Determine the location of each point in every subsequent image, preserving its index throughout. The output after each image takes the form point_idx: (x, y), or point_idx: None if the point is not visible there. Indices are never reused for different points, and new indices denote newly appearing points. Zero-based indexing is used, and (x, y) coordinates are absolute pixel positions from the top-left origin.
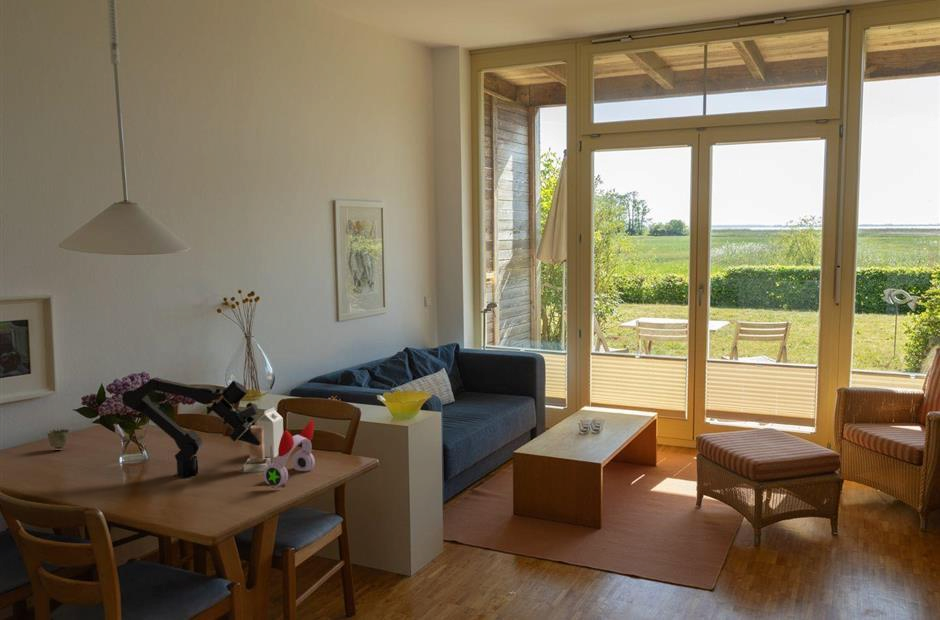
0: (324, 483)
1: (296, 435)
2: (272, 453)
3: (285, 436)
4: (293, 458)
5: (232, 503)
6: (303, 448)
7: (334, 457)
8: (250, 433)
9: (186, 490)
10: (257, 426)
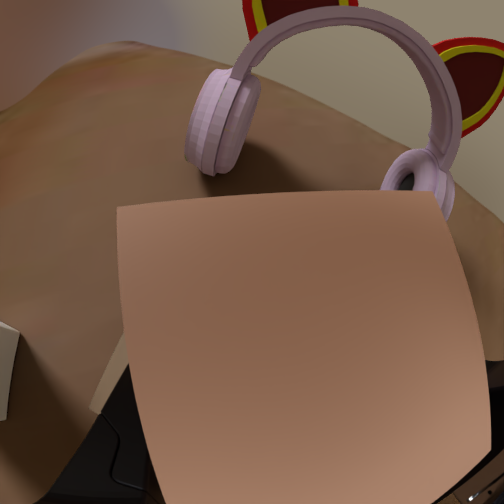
0: (315, 100)
1: (392, 17)
2: None
3: (501, 64)
4: (239, 140)
5: (493, 299)
6: (259, 61)
7: (32, 115)
8: (488, 362)
9: None
10: (319, 366)
